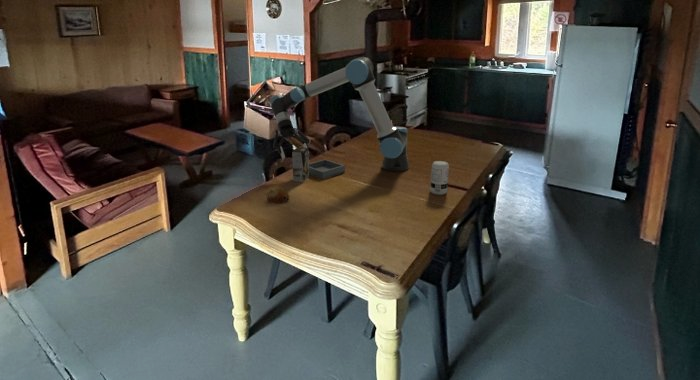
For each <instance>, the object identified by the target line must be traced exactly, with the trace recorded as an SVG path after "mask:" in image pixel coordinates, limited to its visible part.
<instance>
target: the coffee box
mask: <svg viewBox="0 0 700 380" xmlns="http://www.w3.org/2000/svg"><path fill="white" fill-rule="evenodd" d="M308 151H309V149H308V148H304V147H296V148H295V149H294V150H293V151H291V153H292V155H291V156H292V157H291V159H292V162H291V163H292V181H293V182H295V183H296V182H298V183H305V182H306V181H307V180H308V179H309V178H310V174H309V155H308Z"/></svg>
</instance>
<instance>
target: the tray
mask: <svg viewBox="0 0 700 380" xmlns="http://www.w3.org/2000/svg"><path fill="white" fill-rule="evenodd" d="M341 173H342V174H346V165H345V164H342V163H338V162H335V161H332V160H330V159H326V158H325V159H320V160H317V161H313V162H310V163H309V176H310V175H311V176H313V177H315V178H318V179H320V180H325V179H328V178H332V177H335V176H338V175H341Z"/></svg>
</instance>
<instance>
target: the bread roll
mask: <svg viewBox="0 0 700 380" xmlns="http://www.w3.org/2000/svg"><path fill="white" fill-rule="evenodd" d="M290 197H291V196H290V195H289V192H288V191H287V190H286V189H285V188H283V187H280V186H276V187H274V188H271V189H270V190H269V191H268V192H267V195H266V199H267V201H268V203H270V204H277V205H278V204H279V205H281V204H285V203H287V202H289V201H290Z"/></svg>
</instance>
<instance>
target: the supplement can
mask: <svg viewBox="0 0 700 380" xmlns="http://www.w3.org/2000/svg"><path fill="white" fill-rule="evenodd" d="M430 171H431V172H430V187H429V188H430V189H429V190H430V193H432V194H433V195H440V196H441V195H445V194H446V193H447V192H448V184H449V173H450V165H449V163H448V161H444V160H435V161H433V163H432V164H431V169H430Z"/></svg>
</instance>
